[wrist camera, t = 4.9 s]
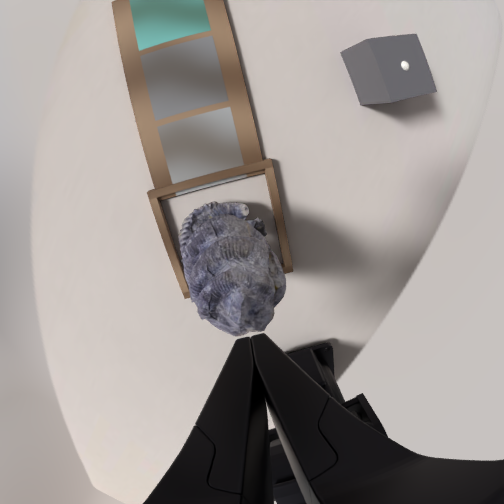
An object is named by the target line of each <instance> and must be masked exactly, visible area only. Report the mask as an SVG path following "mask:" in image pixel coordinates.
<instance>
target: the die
mask: <svg viewBox="0 0 504 504" xmlns="http://www.w3.org/2000/svg"><path fill="white" fill-rule="evenodd" d="M340 53H341V56H342V58H343V60H344V63H345V65H346V68H347V70H348V73H349V75H350V78H351V80H352V83H353V86H354V88H355V91H356V94H357V96H358V99H359V102H360V105H367V104H380V103H392V102H396V101H400V100H404V99H408V98H412V97H416V96H420V95H425V94H429V93H434V92H437V90H436V87H435V84H434V81H433V77H432V74H431V71H430V68H429V65H428V63H427V60H426V57H425V54H424V52H423V49H422V46H421V44H420V41H419V39H418V36H417V34H407V35H394V36H387V37H378V38H371V39H366V40H364V41H362V42H360V43H358V44H356V45H354V46H352V47H350V48H348V49H346V50H344V51H342V52H340Z"/></svg>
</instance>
